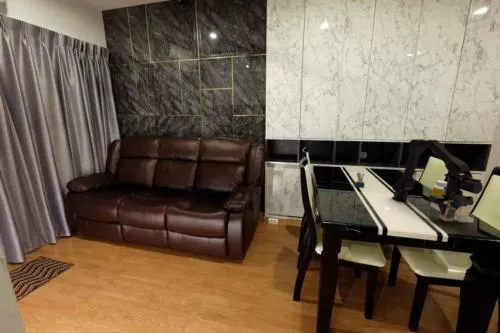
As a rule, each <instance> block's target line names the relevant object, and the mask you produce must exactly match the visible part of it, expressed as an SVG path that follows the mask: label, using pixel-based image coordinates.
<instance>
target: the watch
mask: <svg viewBox="0 0 500 333" xmlns="http://www.w3.org/2000/svg"><path fill="white" fill-rule="evenodd" d="M364 176H365V173H364V171H358V172H356V177H357V181H355V183H354V186H355V188H362V189H363V188H365V181H364Z"/></svg>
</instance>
